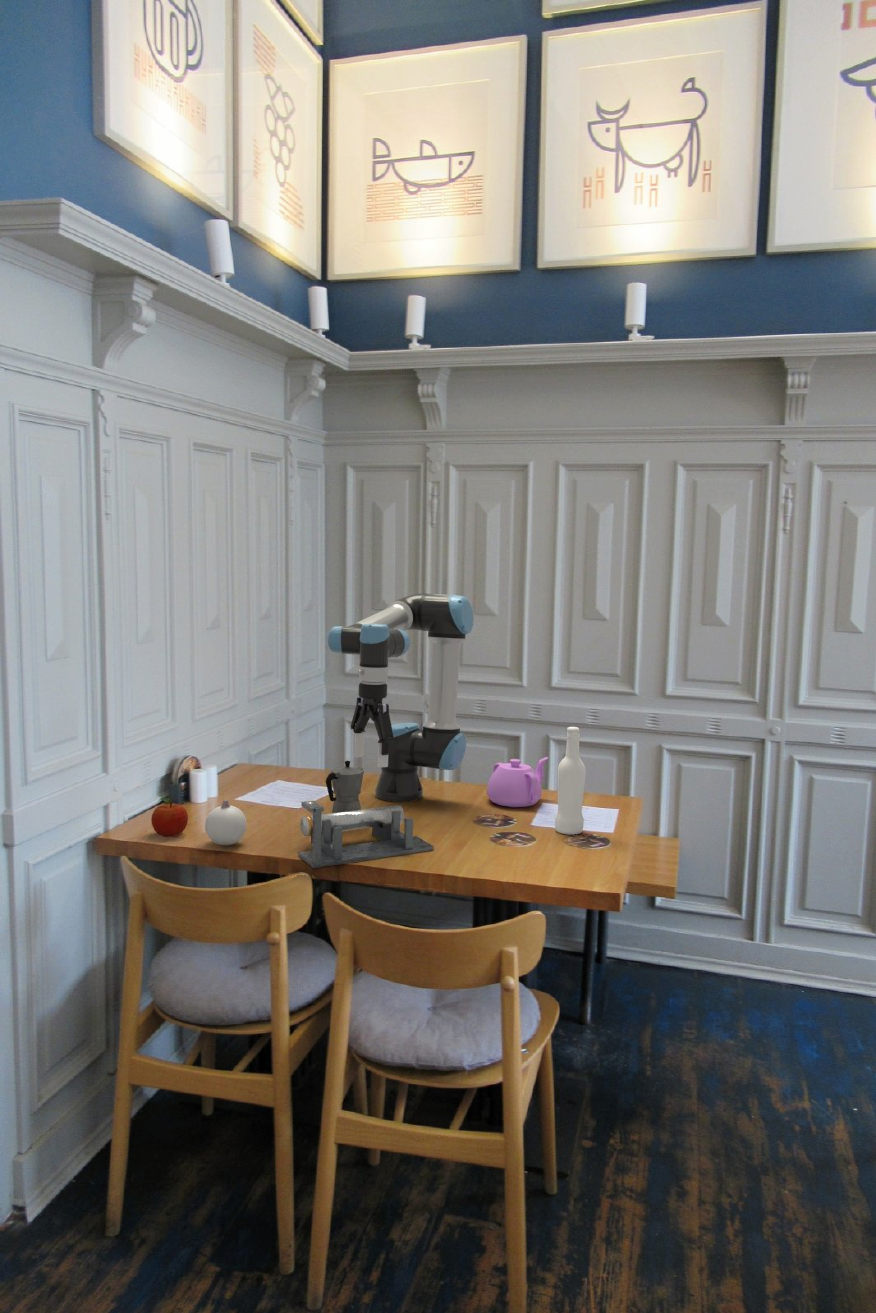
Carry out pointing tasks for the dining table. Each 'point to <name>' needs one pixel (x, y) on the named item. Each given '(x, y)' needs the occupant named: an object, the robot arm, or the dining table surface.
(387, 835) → the rest chocks
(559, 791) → the bottle
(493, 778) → the teapot
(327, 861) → the grey tube stand
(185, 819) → the fruit
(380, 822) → the tube
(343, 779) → the coffeepot
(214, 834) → the ornament
